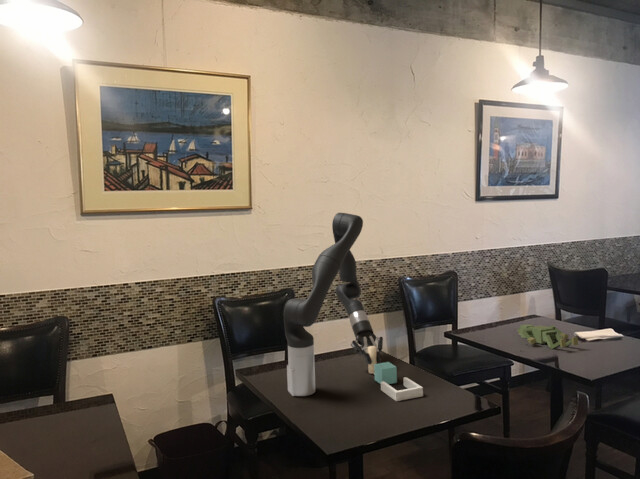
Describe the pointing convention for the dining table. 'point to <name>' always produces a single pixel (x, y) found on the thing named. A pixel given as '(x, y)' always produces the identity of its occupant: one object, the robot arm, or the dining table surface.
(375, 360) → the tethered block
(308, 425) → the dining table surface
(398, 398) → the cream u-shaped frame
